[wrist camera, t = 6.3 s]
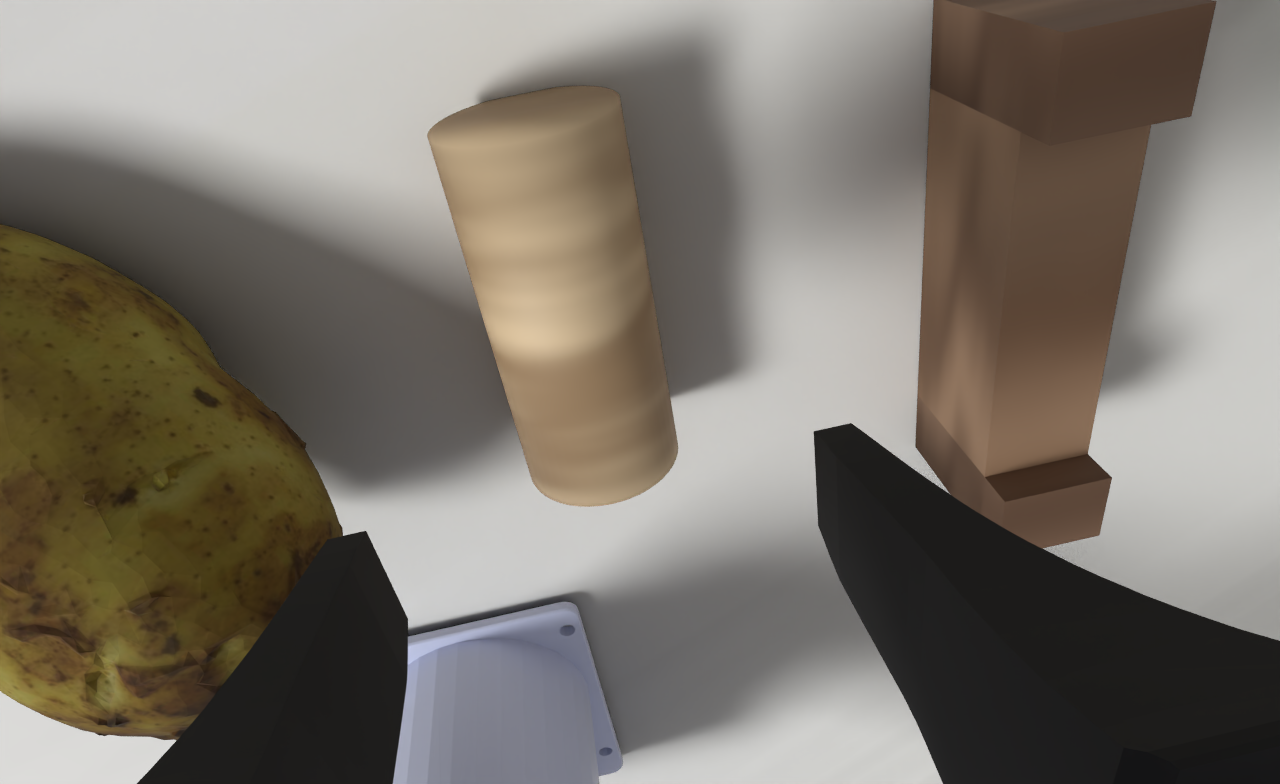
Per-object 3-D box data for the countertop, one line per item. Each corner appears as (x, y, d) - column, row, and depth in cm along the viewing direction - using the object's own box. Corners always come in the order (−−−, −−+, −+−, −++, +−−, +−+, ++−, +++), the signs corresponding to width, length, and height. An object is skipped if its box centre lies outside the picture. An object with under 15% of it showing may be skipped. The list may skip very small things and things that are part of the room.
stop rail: (1000, 427, 25) (1099, 535, 21) (915, 446, 25) (997, 558, 21) (1052, -27, 18) (1216, 1, 14) (933, -3, 18) (1063, 32, 14)
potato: (48, 46, 16) (-268, 163, 9) (421, 472, 23) (389, 713, 16) (-260, 238, 17) (-739, 466, 11) (184, 591, 24) (65, 863, 17)
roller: (666, 399, 23) (689, 488, 20) (530, 426, 23) (529, 520, 20) (611, 75, 18) (629, 120, 15) (437, 108, 18) (416, 162, 15)
